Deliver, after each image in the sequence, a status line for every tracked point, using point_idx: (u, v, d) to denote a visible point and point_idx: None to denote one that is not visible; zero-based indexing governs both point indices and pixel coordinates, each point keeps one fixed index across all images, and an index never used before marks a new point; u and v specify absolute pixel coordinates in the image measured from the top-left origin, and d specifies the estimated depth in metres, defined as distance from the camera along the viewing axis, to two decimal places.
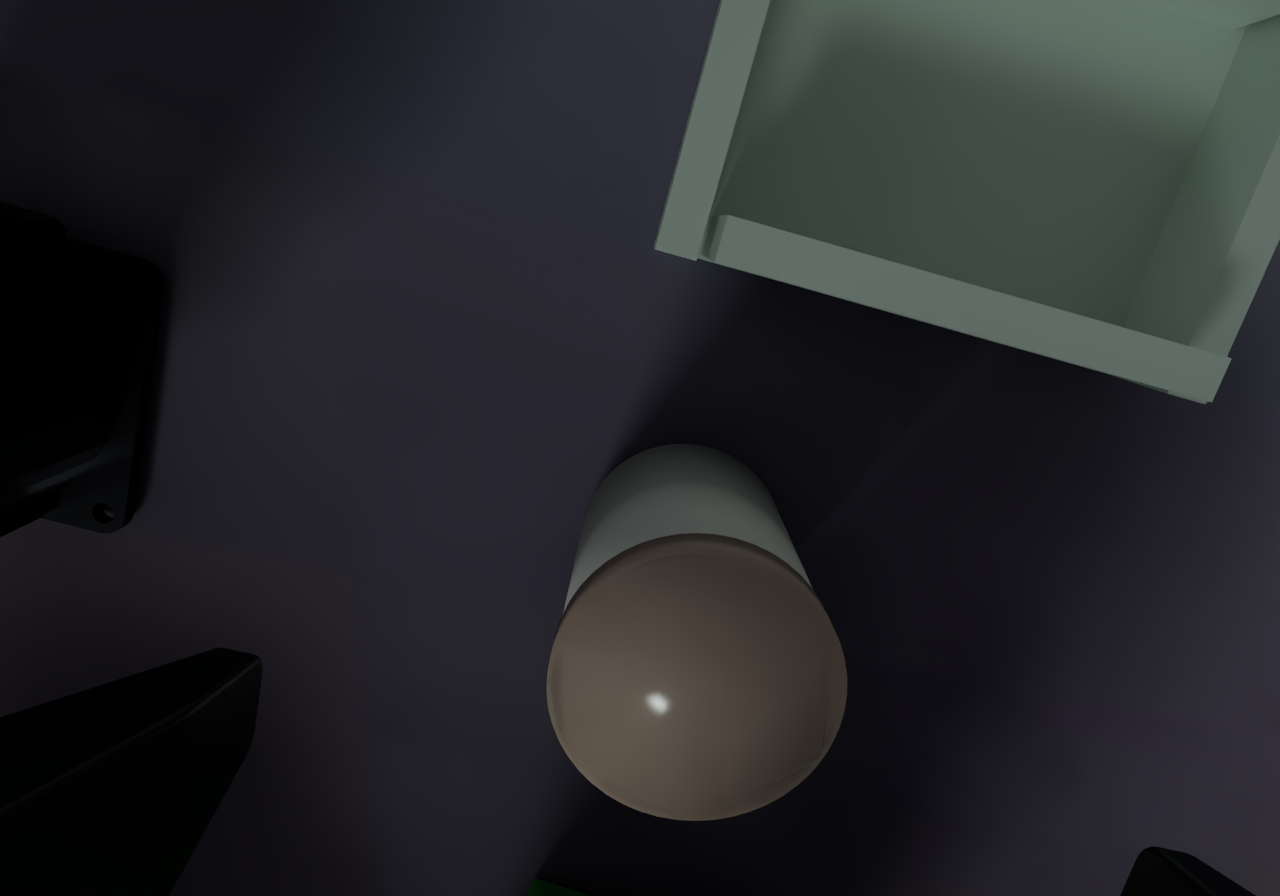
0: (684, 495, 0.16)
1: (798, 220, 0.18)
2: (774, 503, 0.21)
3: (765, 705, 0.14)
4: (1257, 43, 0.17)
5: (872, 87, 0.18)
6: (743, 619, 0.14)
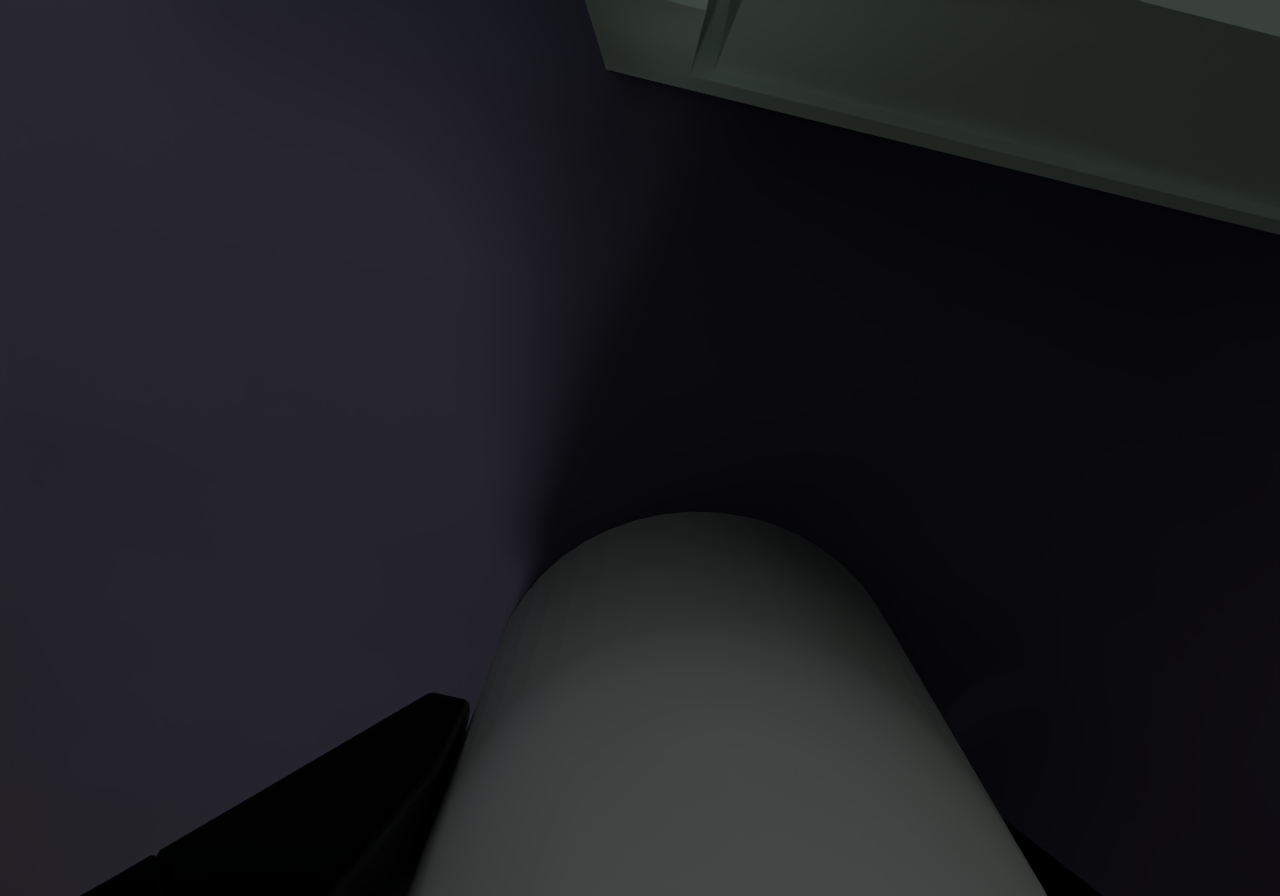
0: (698, 708, 0.06)
1: None
2: None
3: None
4: None
5: None
6: None
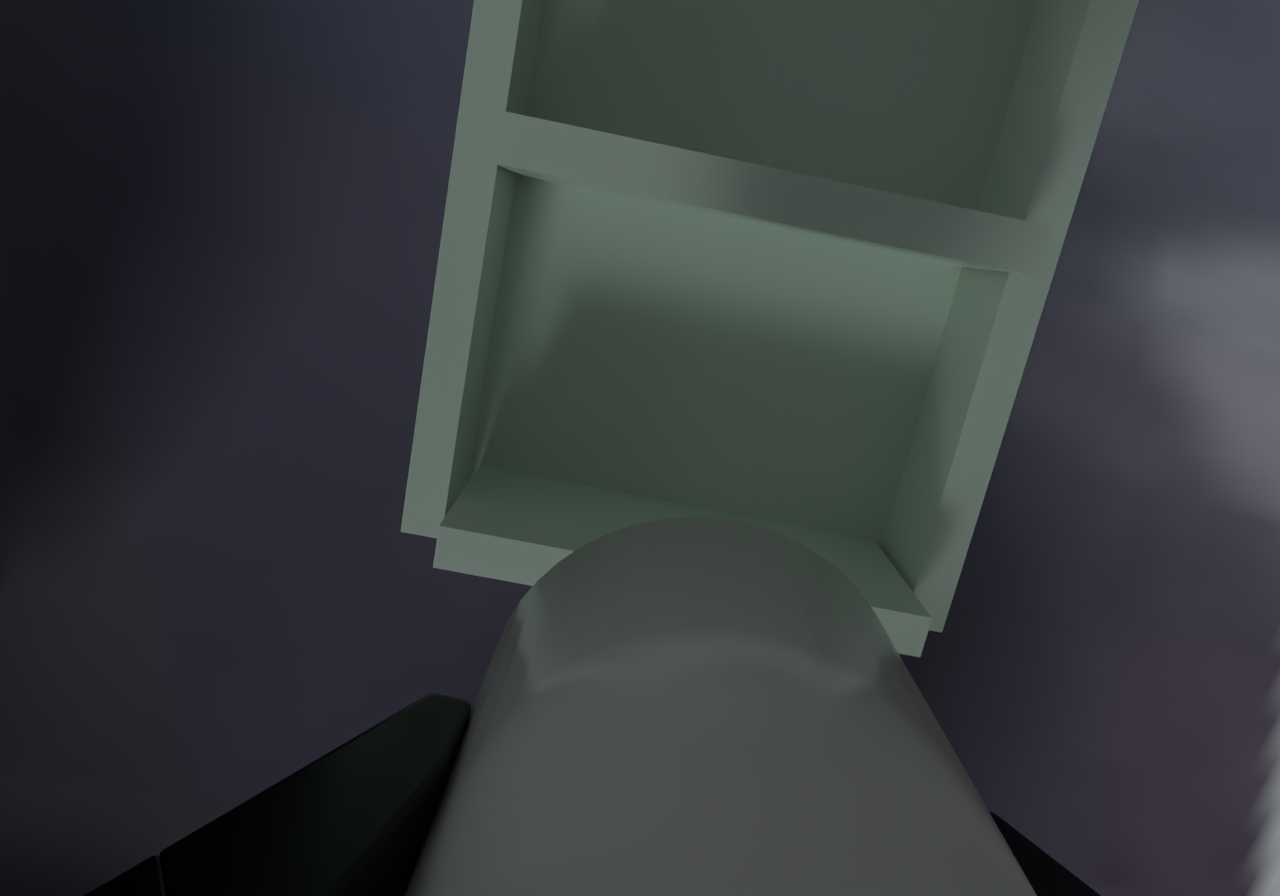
0: (693, 717, 0.06)
1: (562, 463, 0.19)
2: None
3: None
4: (967, 285, 0.18)
5: (616, 340, 0.18)
6: None
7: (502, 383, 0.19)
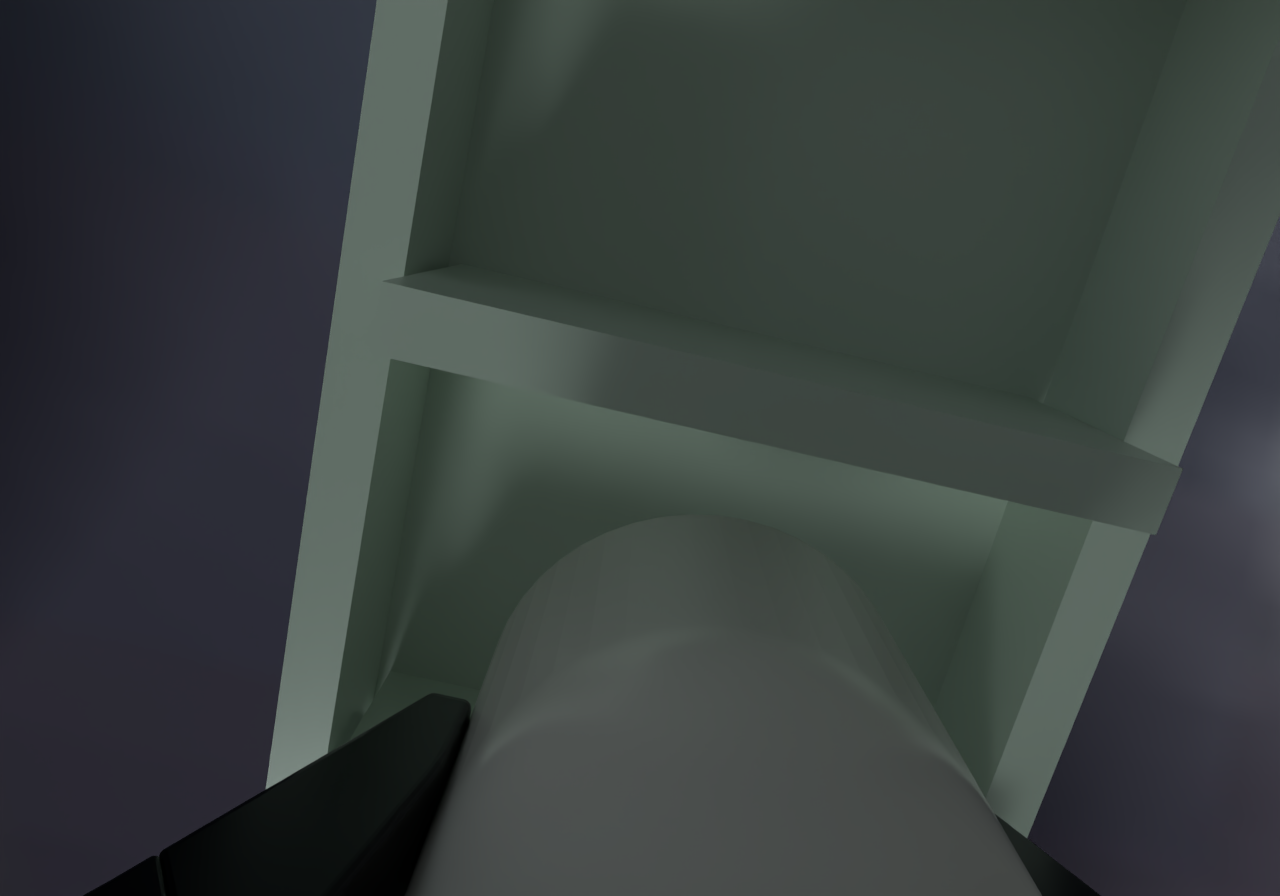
0: (693, 713, 0.06)
1: None
2: None
3: None
4: None
5: (569, 524, 0.14)
6: None
7: (420, 572, 0.14)
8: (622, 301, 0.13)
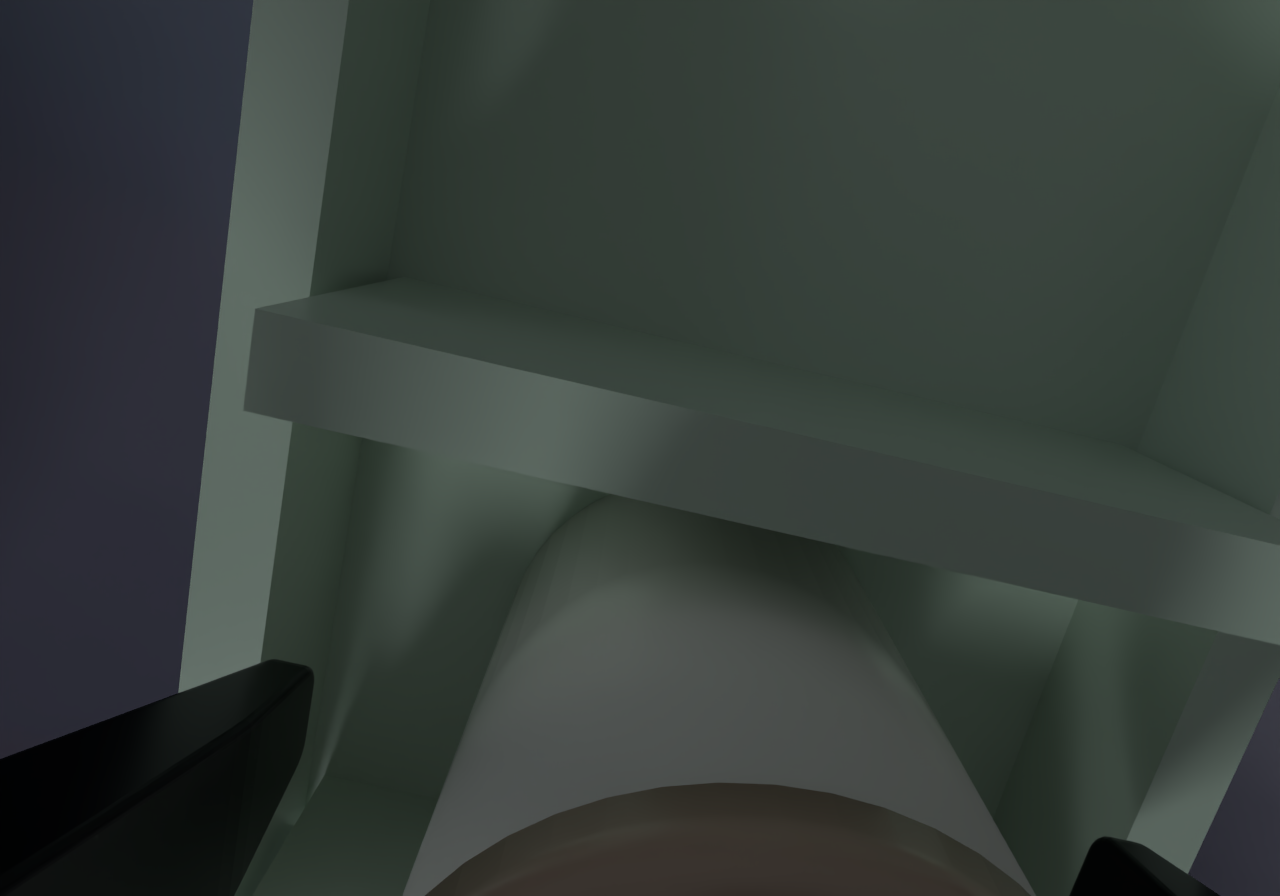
0: (684, 618, 0.07)
1: None
2: None
3: None
4: None
5: None
6: None
7: (358, 657, 0.12)
8: (607, 324, 0.10)
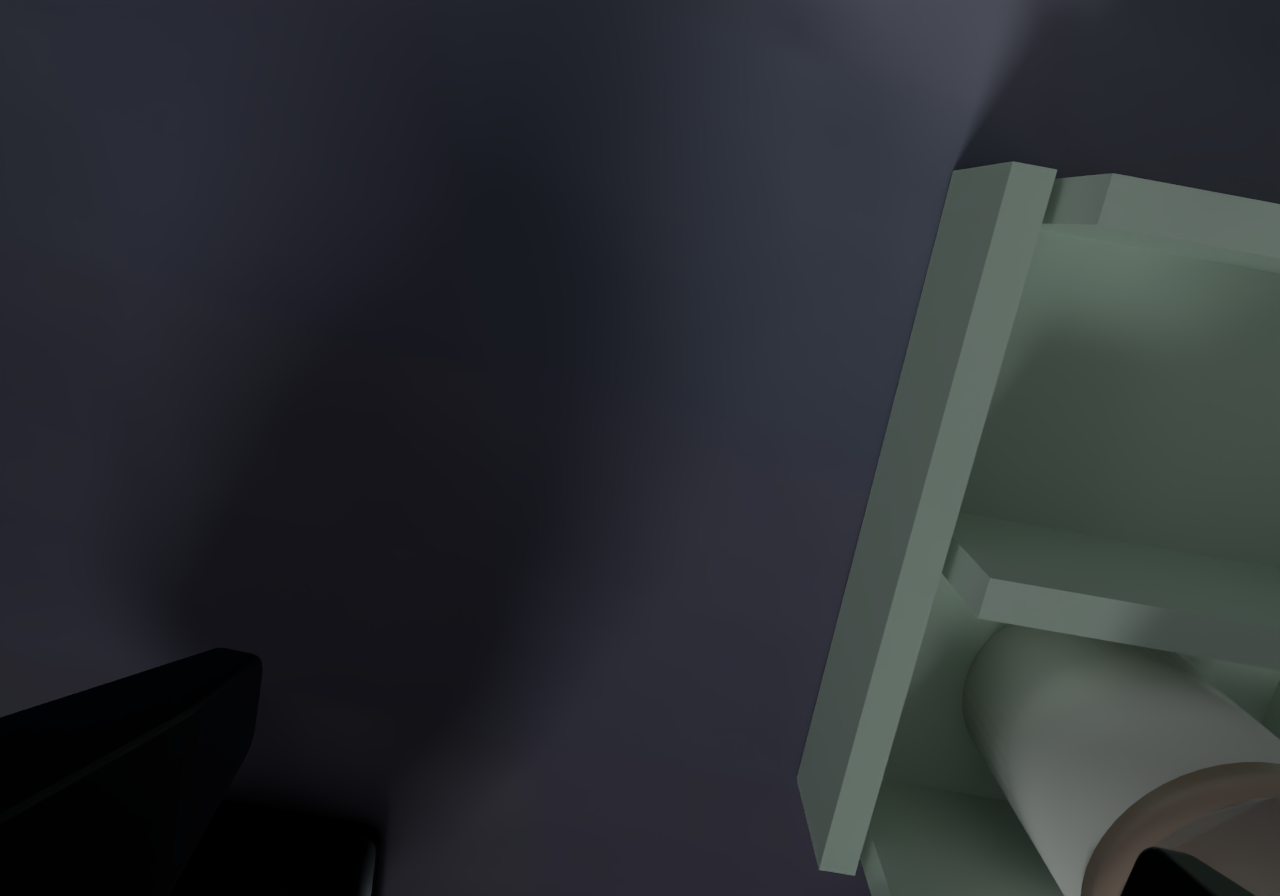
0: (1157, 693, 0.16)
1: (925, 772, 0.21)
2: None
3: None
4: None
5: None
6: None
7: None
8: (1033, 525, 0.19)
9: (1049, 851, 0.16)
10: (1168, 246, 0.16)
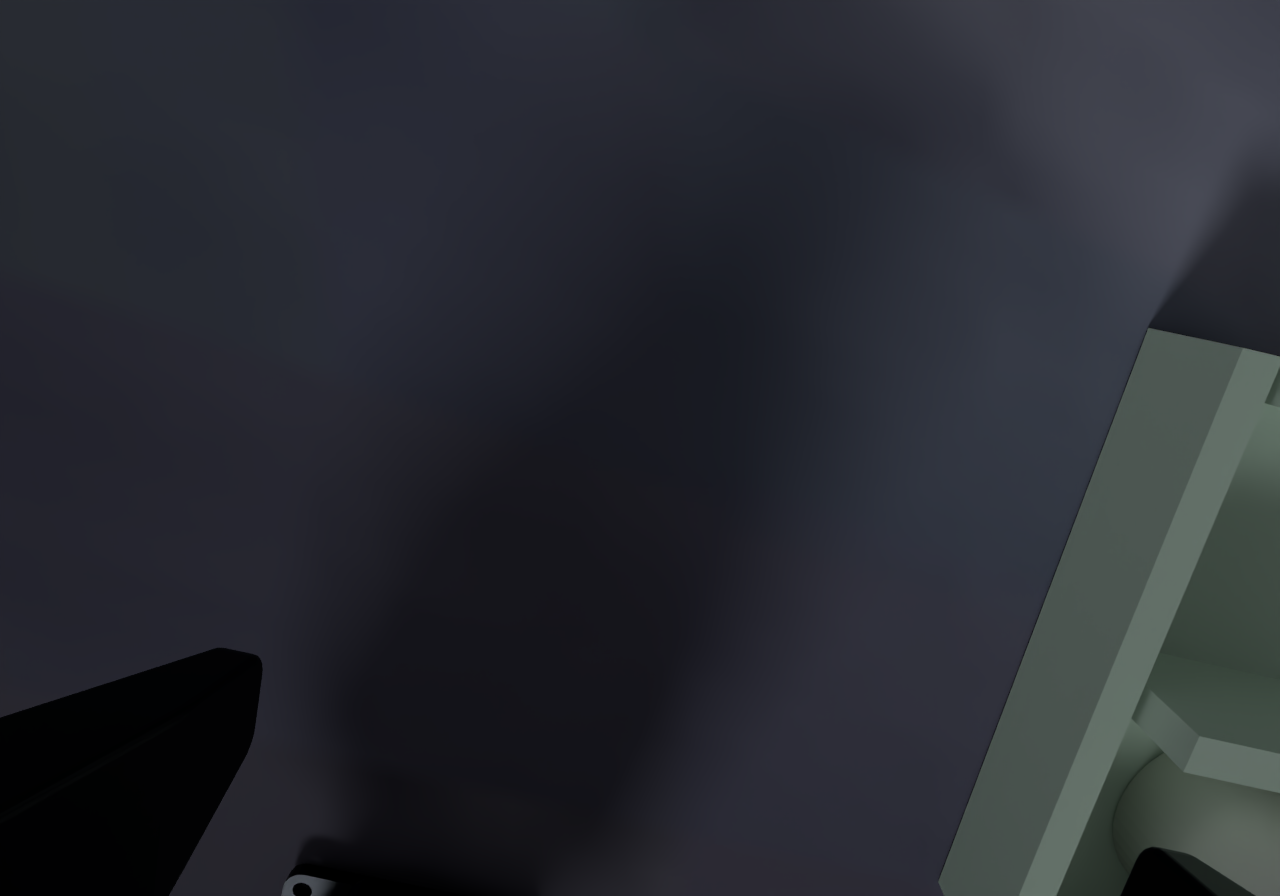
0: None
1: (1069, 884, 0.22)
2: None
3: None
4: None
5: None
6: None
7: None
8: (1197, 661, 0.20)
9: None
10: None
